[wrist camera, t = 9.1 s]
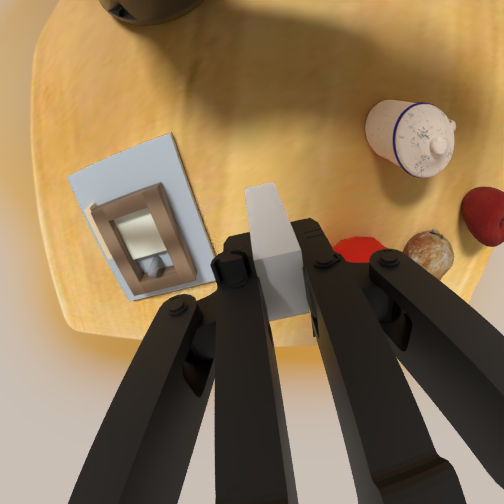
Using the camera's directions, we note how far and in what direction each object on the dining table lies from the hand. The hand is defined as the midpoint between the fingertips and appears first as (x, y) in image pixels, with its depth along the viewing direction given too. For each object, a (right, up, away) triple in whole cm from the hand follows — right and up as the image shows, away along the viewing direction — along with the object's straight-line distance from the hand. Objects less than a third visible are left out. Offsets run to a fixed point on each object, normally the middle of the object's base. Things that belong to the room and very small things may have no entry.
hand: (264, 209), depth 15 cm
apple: (+38, +7, +26) cm, 47 cm away
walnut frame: (-15, 0, +24) cm, 29 cm away
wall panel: (-16, +2, +25) cm, 29 cm away
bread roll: (+29, -3, +31) cm, 43 cm away
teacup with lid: (+20, +15, +20) cm, 32 cm away
